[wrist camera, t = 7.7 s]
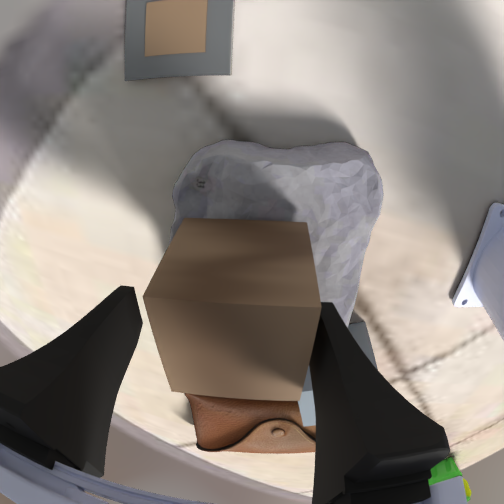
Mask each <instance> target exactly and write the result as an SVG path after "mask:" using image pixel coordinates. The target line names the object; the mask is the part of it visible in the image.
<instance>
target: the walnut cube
mask: <svg viewBox="0 0 504 504" xmlns="http://www.w3.org/2000/svg"><path fill="white" fill-rule="evenodd" d="M143 300H144V304H145V307H146V311H147V315H148V318H149V322H150V325H151V329H152V332H153V336H154V339H155V342H156V345H157V349H158V352H159V355H160V358H161V361H162V364H163V367H164V370H165V373H166V376H167V379H168V382H169V385H170V388H171V391H173V392H180V393H188V394H196V395H205V396H215V397H225V398H238V399H253V400H275V401H300V398H301V394H302V390H303V386H304V382H305V378H306V374H307V370H308V366H309V362H310V358H311V353H312V349H313V345H314V340H315V336H316V331H317V327H318V322H319V317H320V313H321V308H322V307H321V300H320V294H319V288H318V282H317V275H316V270H315V264H314V258H313V252H312V247H311V241H310V236H309V230H308V225H307V222H290V221H268V220H243V219H212V218H184V219H183V221H182V223H181V225H180V226H179V228H178V230H177V232H176V234H175V236H174V237H173V239H172V241H171V243H170V245H169V247H168V249H167V250H166V252H165V254H164V256H163V258H162V260H161V262H160V264H159V266H158V267H157V269H156V271H155V273H154V275H153V277H152V279H151V281H150V283H149V285H148V287H147V289H146V291H145V293H144V295H143Z"/></svg>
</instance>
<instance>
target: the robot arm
mask: <svg viewBox="0 0 504 504" xmlns="http://www.w3.org/2000/svg"><path fill="white" fill-rule="evenodd" d="M501 211H502V212H501ZM500 212H501V213H500ZM452 303H453V305H454V306H455V307H484V308H485V310H486V312H487V313H488V315H489V317H490V318H491V320H492V322H493V323H494V325H495V327H496V328H497V330H498V332H499V334H500V335H501V337H502V339H503V341H504V204H501V203H493V204H492V205H491V207H490V209H489V212H488V215H487V218H486V221H485V223H484V226H483V229H482V232H481V234H480V237H479V240H478V242H477V245H476V247H475V250H474V252H473V255H472V257H471V260H470V262H469V265H468V267H467V269H466V271H465V274H464V276H463V278H462V280H461V283H460V285H459V287H458V289H457V291H456V293H455V295H454V297H453V299H452ZM321 307H322V308H321V313H320V317H319V322H318V327H317V331H316V336H315V340H314V345H313V349H312V353H311V358H310V362H309V367H310V375H311V382H312V390H313V397H314V405H315V416H316V448H315V473H314V487H313V498H312V504H467V499H466V493H465V488H464V483H463V478H462V476H458V477H454V478H451V479H448V480H445V481H441V482H438V483H435V484H433V485H430V486H429V482H428V479H430V478H431V477H432V474H431V468H433V467H434V466H436V465H437V464H438V463H440V462H441V461H442V460H444V459H445V458H446V457H447V456H448V454H449V452H450V448H449V444H448V439H447V436H446V433H445V430H444V428H443V427H442V426H440V425H439V424H437V423H436V422H434V421H433V420H432V419H430V418H429V417H427V416H426V415H424V414H423V413H422V412H420V411H419V410H418V409H417V408H415V407H414V406H413V405H412V404H411V403H409V402H408V401H407V400H406V399H405V398H404V397H403V396H402V395H401V394H400V393H399V392H398V391H397V390H395V389H394V388H393V387H392V386H391V385H390V383H389V382H388V381H387V380H386V379H385V378H384V377H383V376H382V375H381V374H380V372H379V371H378V370H377V369H376V368H375V366H374V365H373V364H372V363H371V361H370V360H369V359H368V357H367V356H366V355H365V353H364V352H363V350H362V349H361V348H360V346H359V345H358V343H357V342H356V340H355V339H354V337H353V336H352V334H351V332H350V331H349V329H348V328H347V326H346V324H345V323H344V321H343V319H342V318H341V316H340V314H339V312H338V311H337V309H336V307H335V305H334V304H333V303H332V302H321ZM142 324H143V322H142V318H141V314H140V310H139V306H138V302H137V298H136V294H135V289H134V287H129V286H120V287H118V288H117V289H116V290H115V291H113V292H112V293H111V294H110V295H109V296H108V297H106V298H105V299H104V300H103V301H102V302H101V303H100V304H98V305H97V306H96V307H95V308H94V309H93V310H91V311H90V312H89V313H88V314H87V315H86V316H84V317H83V318H82V319H81V320H79V321H78V322H77V323H76V324H74V325H73V326H72V327H71V328H69V329H68V330H67V331H66V332H64V333H63V334H61V335H60V336H59V337H57V338H56V339H54V340H53V341H51V342H50V343H48V344H46V345H45V346H43V347H41V348H39V349H38V350H36V351H34V352H32V353H31V354H29V355H27V356H25V357H23V358H21V359H19V360H17V361H14V362H12V363H10V364H8V365H5V366H2V367H0V492H1V493H2V494H4V495H5V496H6V497H8V498H9V499H11V500H12V501H14V502H15V503H17V504H109V503H107V502H106V501H104V500H101V499H98V498H96V497H94V496H91V495H89V494H87V493H85V492H84V491H87V492H90V493H92V494H95V495H98V496H101V497H104V498H107V499H110V500H113V501H117V502H119V503H123V504H213V503H206V502H205V503H204V502H198V501H192V500H186V499H180V498H175V497H170V496H165V495H160V494H156V493H151V492H147V491H143V490H139V489H135V488H131V487H127V486H124V485H121V484H117V483H114V482H111V481H108V480H105V479H101V478H100V477H102V476H103V475H104V465H105V454H106V446H107V440H108V432H109V428H110V423H111V418H112V413H113V409H114V405H115V401H116V397H117V394H118V391H119V388H120V385H121V383H122V380H123V378H124V375H125V373H126V370H127V368H128V365H129V363H130V360H131V358H132V356H133V353H134V351H135V348H136V346H137V343H138V339H139V336H140V332H141V328H142Z"/></svg>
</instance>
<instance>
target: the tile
mask: <svg viewBox="0 0 504 504" xmlns="http://www.w3.org/2000/svg"><path fill="white" fill-rule="evenodd" d="M234 6H235V0H127V6H126V25H125V81H131V80H139V79H150V78H161V77H176V76H201V75H232V49H233V26H234Z"/></svg>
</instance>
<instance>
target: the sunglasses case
mask: <svg viewBox="0 0 504 504" xmlns="http://www.w3.org/2000/svg"><path fill="white" fill-rule="evenodd" d="M185 396H186V397H187V398H188V399H189V402H190V405H191V409H192V415H193V420H194V425H195V431H196V437H197V444H196V446H197V448H198V449H200V450H202V451H207V452H221V451H232V452H247V453H276V454H277V453H306V452H315V448H316V425H314V426H305V427H304V426H303V422H302V417H301V413H300V408H299V404H298V401H275V400H253V399H238V398H225V397H215V396H205V395H196V394H188V393H185Z"/></svg>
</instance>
